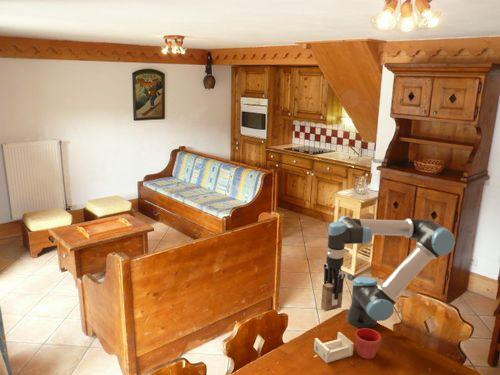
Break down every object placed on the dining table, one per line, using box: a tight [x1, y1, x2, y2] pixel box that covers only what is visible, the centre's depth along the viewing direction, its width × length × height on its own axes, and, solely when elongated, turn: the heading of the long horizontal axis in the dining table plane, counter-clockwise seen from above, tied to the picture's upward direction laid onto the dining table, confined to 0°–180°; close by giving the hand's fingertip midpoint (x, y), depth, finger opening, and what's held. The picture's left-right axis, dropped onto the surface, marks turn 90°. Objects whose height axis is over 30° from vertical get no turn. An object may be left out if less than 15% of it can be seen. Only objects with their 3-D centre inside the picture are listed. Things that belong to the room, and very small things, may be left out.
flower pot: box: [355, 328, 382, 360], centre depth 195 cm, size 11×11×10 cm
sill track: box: [313, 331, 355, 364], centre depth 195 cm, size 14×10×6 cm
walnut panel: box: [320, 282, 344, 312], centre depth 202 cm, size 9×4×12 cm, turn 115°
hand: (331, 302), depth 203 cm, fingers closed on walnut panel, 3 cm apart
